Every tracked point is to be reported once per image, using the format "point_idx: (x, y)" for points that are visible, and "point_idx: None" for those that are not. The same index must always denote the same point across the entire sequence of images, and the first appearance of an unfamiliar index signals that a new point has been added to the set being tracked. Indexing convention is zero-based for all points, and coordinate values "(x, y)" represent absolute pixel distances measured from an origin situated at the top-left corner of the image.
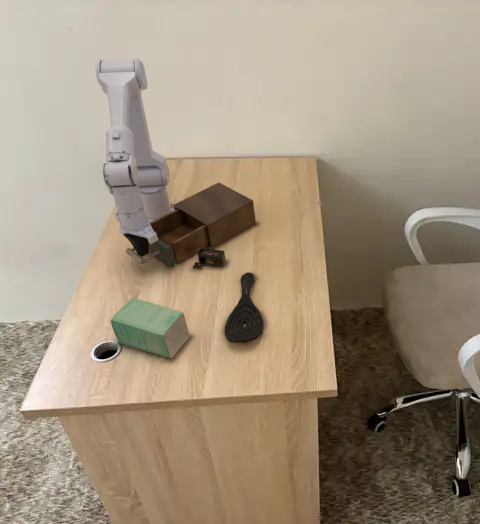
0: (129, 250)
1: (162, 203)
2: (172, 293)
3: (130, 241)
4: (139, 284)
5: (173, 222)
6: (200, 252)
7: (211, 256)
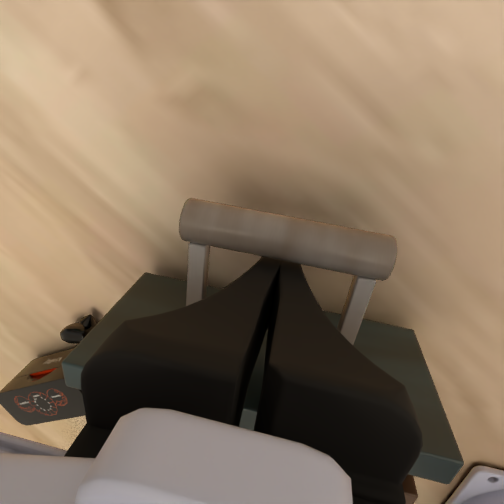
0: (355, 258)
1: None
2: (11, 146)
3: (299, 327)
4: (189, 99)
5: None
6: (72, 393)
7: (20, 388)
